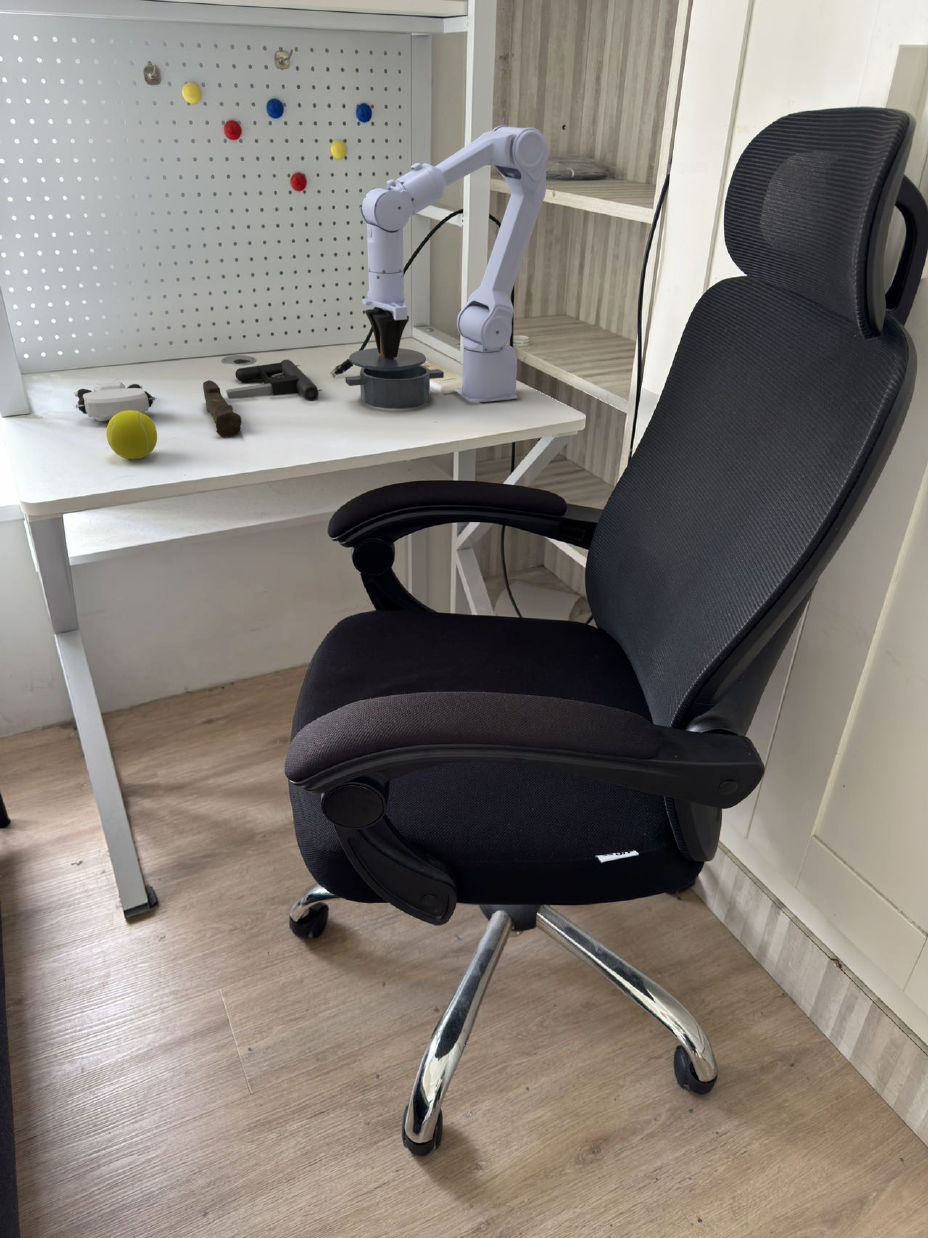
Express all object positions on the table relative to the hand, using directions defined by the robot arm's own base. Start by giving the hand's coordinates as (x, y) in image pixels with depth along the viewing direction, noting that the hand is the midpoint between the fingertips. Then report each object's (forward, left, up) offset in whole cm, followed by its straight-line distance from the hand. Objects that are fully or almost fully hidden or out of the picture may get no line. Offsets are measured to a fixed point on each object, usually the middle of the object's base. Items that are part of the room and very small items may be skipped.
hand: (387, 354), depth 155 cm
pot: (-3, -4, -9) cm, 10 cm away
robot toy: (+44, -12, -10) cm, 47 cm away
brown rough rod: (+29, -3, -10) cm, 31 cm away
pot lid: (0, 0, -1) cm, 1 cm away
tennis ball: (+43, +11, -10) cm, 46 cm away
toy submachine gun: (+17, -17, -10) cm, 26 cm away
